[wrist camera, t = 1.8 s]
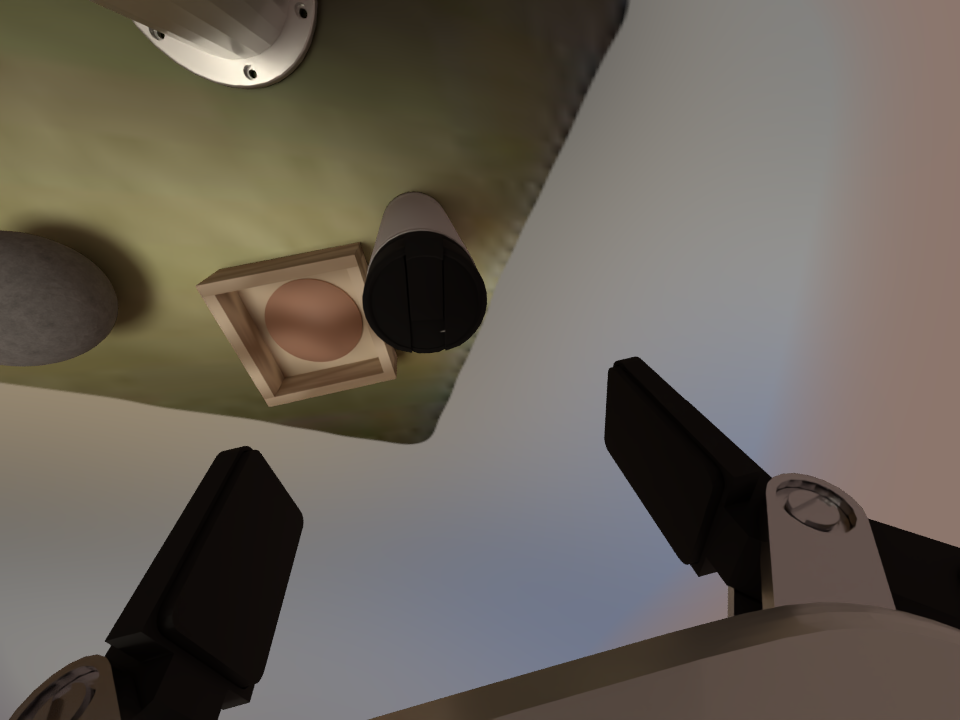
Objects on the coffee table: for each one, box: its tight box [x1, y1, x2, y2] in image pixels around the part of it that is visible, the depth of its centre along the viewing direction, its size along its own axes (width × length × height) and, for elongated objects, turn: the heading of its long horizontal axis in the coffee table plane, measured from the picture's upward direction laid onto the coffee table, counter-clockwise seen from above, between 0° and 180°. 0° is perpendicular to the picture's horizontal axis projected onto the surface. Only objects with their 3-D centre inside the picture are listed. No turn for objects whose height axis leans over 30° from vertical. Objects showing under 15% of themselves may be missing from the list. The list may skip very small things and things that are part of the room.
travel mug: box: [362, 192, 487, 353], centre depth 26 cm, size 6×7×20 cm
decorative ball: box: [0, 231, 118, 366], centre depth 27 cm, size 10×10×10 cm
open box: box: [195, 242, 397, 407], centre depth 35 cm, size 13×13×4 cm
